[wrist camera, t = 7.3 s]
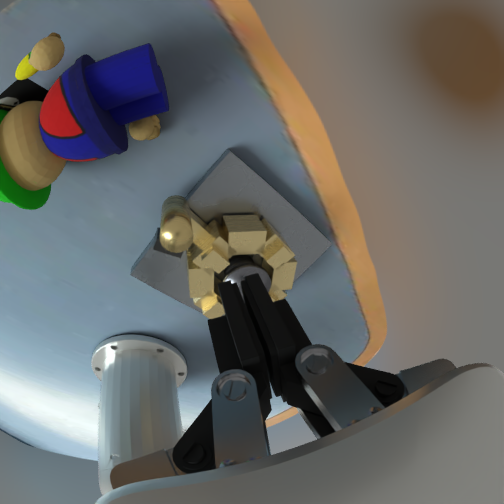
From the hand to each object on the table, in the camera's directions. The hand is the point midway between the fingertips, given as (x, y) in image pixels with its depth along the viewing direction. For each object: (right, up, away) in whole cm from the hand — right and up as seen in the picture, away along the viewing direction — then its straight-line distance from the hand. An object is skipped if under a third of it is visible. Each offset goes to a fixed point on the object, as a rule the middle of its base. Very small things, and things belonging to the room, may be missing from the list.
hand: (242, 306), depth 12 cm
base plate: (-1, +2, +16) cm, 16 cm away
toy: (-13, +13, +6) cm, 19 cm away
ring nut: (-2, +3, +13) cm, 14 cm away
